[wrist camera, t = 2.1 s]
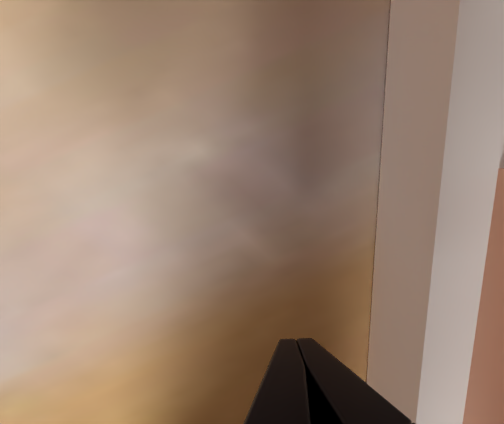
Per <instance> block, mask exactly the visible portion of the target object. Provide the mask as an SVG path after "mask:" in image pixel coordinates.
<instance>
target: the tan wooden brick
mask: <svg viewBox="0 0 504 424" xmlns="http://www.w3.org/2000/svg"><path fill="white" fill-rule="evenodd" d="M462 424H504V168H499V169H498V176H497V183H496V190H495V197H494V204H493V211H492V219H491V226H490V233H489V240H488V247H487V254H486V261H485V268H484V275H483V282H482V289H481V296H480V303H479V310H478V317H477V325H476V332H475V339H474V346H473V353H472V360H471V367H470V374H469V381H468V388H467V395H466V402H465V409H464V416H463V423H462Z"/></svg>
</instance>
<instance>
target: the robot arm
mask: <svg viewBox="0 0 504 424" xmlns="http://www.w3.org/2000/svg"><path fill="white" fill-rule="evenodd" d="M243 424H415V423H412V421H411V420H410V419H409V418H408V417H407V416H406V415H404V414H403V413H402V412H401V411H399V410H398V409H397V408H396V407H395V406H393V405H392V404H391V403H390V402H389V401H387V400H386V399H385V398H384V397H383V396H381V395H380V394H379V393H378V392H376V391H375V390H374V389H373V388H372V387H370V386H369V385H368V384H367V383H366V382H364V381H363V380H362V379H361V378H360V377H358V376H357V375H356V374H355V373H354V372H352V371H351V370H350V369H349V368H347V367H346V366H345V365H344V364H343V363H341V362H340V361H339V360H338V359H337V358H335V357H334V356H333V355H332V354H331V353H329V352H328V351H327V350H326V349H324V348H323V347H322V346H321V345H320V344H318V343H317V342H316V341H315V340H314V339H312V338H299V339H297V340H295V339H281V340H279V342H278V345H277V347H276V349H275V352H274V354H273V356H272V359H271V361H270V363H269V365H268V368H267V370H266V372H265V375H264V377H263V379H262V382H261V384H260V386H259V389H258V391H257V393H256V396H255V398H254V400H253V403H252V405H251V407H250V410H249V412H248V414H247V416H246V419H245V421H244V423H243Z"/></svg>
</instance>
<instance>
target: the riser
mask: <svg viewBox="0 0 504 424" xmlns="http://www.w3.org/2000/svg"><path fill="white" fill-rule="evenodd" d="M499 168H504V0H391V5H390V21H389V37H388V53H387V68H386V84H385V100H384V115H383V131H382V147H381V163H380V178H379V194H378V210H377V226H376V241H375V257H374V273H373V288H372V304H371V320H370V336H369V351H368V367H367V384H368V385H369V386H370V387H372V388H373V389H374V390H375V391H376V392H378V393H379V394H380V395H381V396H383V397H384V398H385V399H386V400H387V401H389V402H390V403H391V404H392V405H393V406H395V407H396V408H397V409H398V410H399V411H401V412H402V413H403V414H404V415H406V416H407V417H408V418H409V419H410V420H411V421H412V423H415V424H462V423H463V416H464V409H465V402H466V395H467V388H468V381H469V374H470V367H471V360H472V353H473V346H474V339H475V332H476V325H477V317H478V310H479V303H480V296H481V289H482V282H483V275H484V268H485V261H486V254H487V247H488V240H489V233H490V226H491V219H492V211H493V204H494V197H495V190H496V183H497V176H498V169H499Z"/></svg>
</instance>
